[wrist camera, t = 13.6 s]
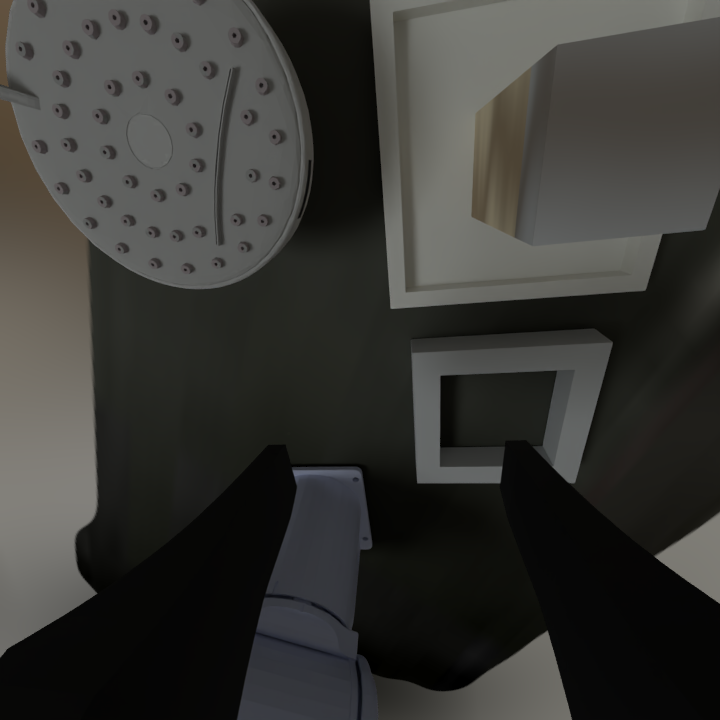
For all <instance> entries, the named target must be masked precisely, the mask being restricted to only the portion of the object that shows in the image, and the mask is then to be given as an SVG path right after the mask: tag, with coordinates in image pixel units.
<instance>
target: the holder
mask: <svg viewBox="0 0 720 720" xmlns="http://www.w3.org/2000/svg"><path fill="white" fill-rule="evenodd" d="M612 344H613V342H612V341H611V340H609V339H608V338H606V337H605V336H604V335H602V334H601V333H600V332H598V331H597V330H596V329H594V328H593V329H576V330H559V331H542V332H525V333H508V334H491V335H474V336H457V337H440V338H423V339H411V355H412V380H413V405H414V429H415V454H416V472H417V483H500V482H501V474H502V466H503V458H504V450H505V447H447V448H440V376H441V375H464V374H487V373H509V372H532V371H555V370H557V374H556V380H555V385H554V390H553V395H552V400H551V405H550V410H549V416H548V421H547V426H546V431H545V436H544V441H543V446H532V447H533V448H534V449H535V450H536V451H537V452H538V453H539V454H540V455H541V456H542V457H543V458H544V459H545V460H546V461H547V462H548V463H549V464H550V465H551V466H552V467H553V468H554V469H555V470H556V471H557V472H558V473H559V474H560V475H561V476H562V477H563V478H564V479H565V480H566V481H567V482H568V483H575V480H576V477H577V473H578V469H579V466H580V462H581V458H582V455H583V451H584V447H585V444H586V440H587V436H588V433H589V429H590V425H591V422H592V418H593V414H594V411H595V407H596V403H597V400H598V396H599V392H600V389H601V385H602V381H603V378H604V374H605V370H606V366H607V363H608V359H609V355H610V352H611V348H612Z"/></svg>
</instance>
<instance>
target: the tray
mask: <svg viewBox="0 0 720 720" xmlns="http://www.w3.org/2000/svg"><path fill="white" fill-rule="evenodd" d="M370 11H371V25H372V40H373V55H374V69H375V84H376V99H377V113H378V128H379V143H380V157H381V172H382V187H383V201H384V216H385V231H386V245H387V260H388V275H389V289H390V304H391V309H395V308H409V307H423V306H437V305H451V304H465V303H479V302H493V301H507V300H521V299H535V298H549V297H563V296H577V295H591V294H605V293H619V292H633V291H646V287H647V284H648V281H649V277H650V274H651V271H652V267H653V264H654V261H655V257H656V254H657V251H658V247H659V244H660V240H661V237H662V234H657V235H646V236H636V237H625V238H615V239H604V240H593V241H583V242H572V243H562V244H551V245H541V246H531V245H529V244H527V243H525V242H523V241H520V240H518V239H516V238H514V237H512V236H510V235H508V234H506V233H504V232H502V231H500V230H498V229H496V228H493V227H491V226H489V225H487V224H485V223H483V222H481V221H479V220H477V219H475V218H473V217H471V212H472V188H473V163H474V139H475V114H476V112H478V111H479V110H480V109H481V108H482V107H484V106H485V105H486V104H487V103H488V102H490V101H491V100H492V99H493V98H494V97H496V96H497V95H498V94H499V93H500V92H502V91H503V90H504V89H505V88H506V87H508V86H509V85H510V84H511V83H512V82H514V81H515V80H516V79H517V78H518V77H519V76H521V75H522V74H523V73H524V72H525V71H527V70H528V69H529V68H530V67H531V66H533V65H534V64H535V63H536V62H537V61H539V60H540V59H541V58H542V57H543V56H545V55H546V54H547V53H548V52H549V51H551V50H552V49H553V48H554V47H555V46H556V45H558V44H564V43H570V42H576V41H582V40H587V39H593V38H599V37H605V36H611V35H617V34H623V33H628V32H634V31H640V30H646V29H652V28H658V27H664V26H669V25H675V24H681V23H687V22H693V21H699V20H705V19H710V18H716V17H720V0H370Z"/></svg>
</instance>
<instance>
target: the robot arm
mask: <svg viewBox="0 0 720 720" xmlns="http://www.w3.org/2000/svg"><path fill="white" fill-rule="evenodd" d="M354 477H356V478H354ZM500 489H501V494H502V498H503V502H504V506H505V510H506V513H507V517H508V520H509V523H510V526H511V529H512V531H513V534H514V537H515V539H516V542H517V545H518V547H519V550H520V553H521V555H522V558H523V560H524V563H525V566H526V568H527V571H528V574H529V576H530V579H531V582H532V584H533V587H534V589H535V592H536V595H537V597H538V600H539V603H540V606H541V609H542V612H543V615H544V619H545V622H546V626H547V629H548V633H549V636H550V640H551V643H552V647H553V650H554V653H555V657H556V661H557V664H558V668H559V672H560V676H561V679H562V683H563V687H564V690H565V694H566V698H567V702H568V705H569V709H570V713H571V717H572V720H720V604H719V603H718V602H716V601H715V600H714V599H712V598H710V597H709V596H708V595H706V594H705V593H704V592H702V591H701V590H699V589H698V588H696V587H695V586H694V585H692V584H690V583H689V582H687V581H686V580H685V579H684V578H682V577H681V576H679V575H678V574H676V573H675V572H674V571H673V570H671V569H670V568H668V567H667V566H666V565H664V564H663V563H661V562H660V561H659V560H658V559H656V558H655V557H654V556H653V555H651V554H650V553H649V552H647V551H646V550H645V549H644V548H642V547H641V546H640V545H638V544H637V543H636V542H635V541H633V540H632V539H631V538H630V537H628V536H627V535H626V534H625V533H624V532H622V531H621V530H620V529H619V528H618V527H616V526H615V525H614V524H613V523H612V522H611V521H610V520H608V519H607V518H606V517H605V516H604V515H603V514H601V513H600V512H599V511H598V510H597V509H596V508H595V507H594V506H593V505H591V504H590V503H589V502H588V501H587V500H586V499H585V498H584V497H583V496H582V495H581V494H580V493H579V492H578V491H577V490H575V489H574V488H573V487H572V486H571V485H570V484H569V483H568V482H567V481H566V480H565V479H564V478H563V477H562V476H561V475H560V474H559V473H558V472H557V471H556V470H555V469H554V468H553V467H552V466H551V465H550V464H549V463H548V462H547V461H546V460H545V459H544V458H543V457H542V456H541V455H540V454H539V453H538V452H537V451H536V450H535V449H534V448H533V447H532V446H531V444H530V443H528V442H527V441H526V440H521V441H506V442H505V450H504V458H503V466H502V474H501V482H500ZM370 548H372V536H371V529H370V523H369V516H368V509H367V502H366V495H365V488H364V481H363V474H362V470H361V469H360V468H359V467H292V466H291V463H290V459H289V456H288V452H287V448H286V445H268V446H267V447H266V448H265V449H264V450H263V451H262V452H261V453H260V454H259V455H258V457H257V458H256V459H255V460H254V461H253V462H252V463H251V464H250V465H249V466H248V467H247V468H246V469H245V470H244V471H243V472H242V473H241V474H240V476H239V477H238V478H237V479H236V480H235V481H234V482H233V483H232V484H231V485H230V486H229V487H228V488H227V489H226V490H225V491H224V492H223V493H222V494H221V495H220V496H219V497H218V498H217V499H216V500H215V501H214V502H213V503H212V504H211V505H209V506H208V507H207V508H206V509H205V510H204V511H203V512H202V513H201V514H200V515H199V516H198V517H197V518H196V519H195V520H193V521H192V522H191V523H190V524H189V525H188V526H187V527H186V528H184V529H183V530H182V531H181V532H180V533H178V534H177V535H176V536H175V537H174V538H172V539H171V540H170V541H169V542H168V543H166V544H165V545H164V546H163V547H161V548H160V549H159V550H158V551H156V552H155V553H154V554H152V555H151V556H150V557H148V558H147V559H146V560H144V561H143V562H142V563H140V564H139V565H138V566H136V567H135V568H133V569H132V570H131V571H129V572H128V573H127V574H125V575H124V576H123V577H121V578H120V579H118V580H117V581H116V582H114V583H113V584H111V585H110V586H108V587H107V588H105V589H104V590H102V591H101V592H99V593H98V594H96V595H95V596H93V597H92V598H90V599H89V600H87V601H86V602H84V603H83V604H81V605H80V606H78V607H76V608H75V609H73V610H72V611H70V612H69V613H67V614H65V615H64V616H62V617H60V618H59V619H57V620H55V621H54V622H52V623H50V624H49V625H47V626H45V627H44V628H42V629H40V630H39V631H37V632H35V633H34V634H32V635H30V636H29V637H27V638H25V639H24V640H22V641H20V642H18V643H17V644H15V645H13V646H11V647H10V648H8V649H7V650H6V652H5V653H4V654H3V655H2V656H1V658H0V720H378V702H377V691H376V686H375V682H374V678H373V676H372V674H371V671H370V667H369V664H368V662H367V660H366V659H365V657H363V656H361V655H358V654H357V644H358V633H357V632H355V631H352V630H351V629H352V626H353V621H354V611H355V601H356V590H357V580H358V569H359V559H360V549H370Z"/></svg>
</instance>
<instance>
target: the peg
mask: <svg viewBox="0 0 720 720" xmlns="http://www.w3.org/2000/svg"><path fill="white" fill-rule="evenodd" d="M719 189H720V17H716V18H710V19H705V20H699V21H693V22H687V23H681V24H675V25H669V26H664V27H658V28H652V29H646V30H640V31H634V32H628V33H623V34H617V35H611V36H605V37H599V38H593V39H587V40H582V41H576V42H570V43H564V44H558V45H556V46H555V47H554V48H553V49H552V50H551V51H549V52H548V53H547V54H546V55H545V56H543V57H542V58H541V59H540V60H539V61H537V62H536V63H535V64H534V65H533V66H531V67H530V68H529V69H528V70H527V71H525V72H524V73H523V74H522V75H521V76H519V77H518V78H517V79H516V80H515V81H514V82H512V83H511V84H510V85H509V86H508V87H506V88H505V89H504V90H503V91H502V92H500V93H499V94H498V95H497V96H496V97H494V98H493V99H492V100H491V101H490V102H488V103H487V104H486V105H485V106H484V107H482V108H481V109H480V110H479V111H478V112H476V114H475V139H474V163H473V188H472V212H471V217H473V218H475V219H477V220H479V221H481V222H483V223H485V224H487V225H489V226H491V227H493V228H496V229H498V230H500V231H502V232H504V233H506V234H508V235H510V236H512V237H514V238H516V239H518V240H520V241H523V242H525V243H527V244H529V245H531V246H541V245H551V244H562V243H572V242H583V241H593V240H604V239H615V238H625V237H636V236H646V235H657V234H667V233H678V232H688V231H699V230H705V229H706V226H707V223H708V220H709V217H710V215H711V212H712V209H713V206H714V203H715V200H716V197H717V195H718V192H719Z"/></svg>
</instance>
